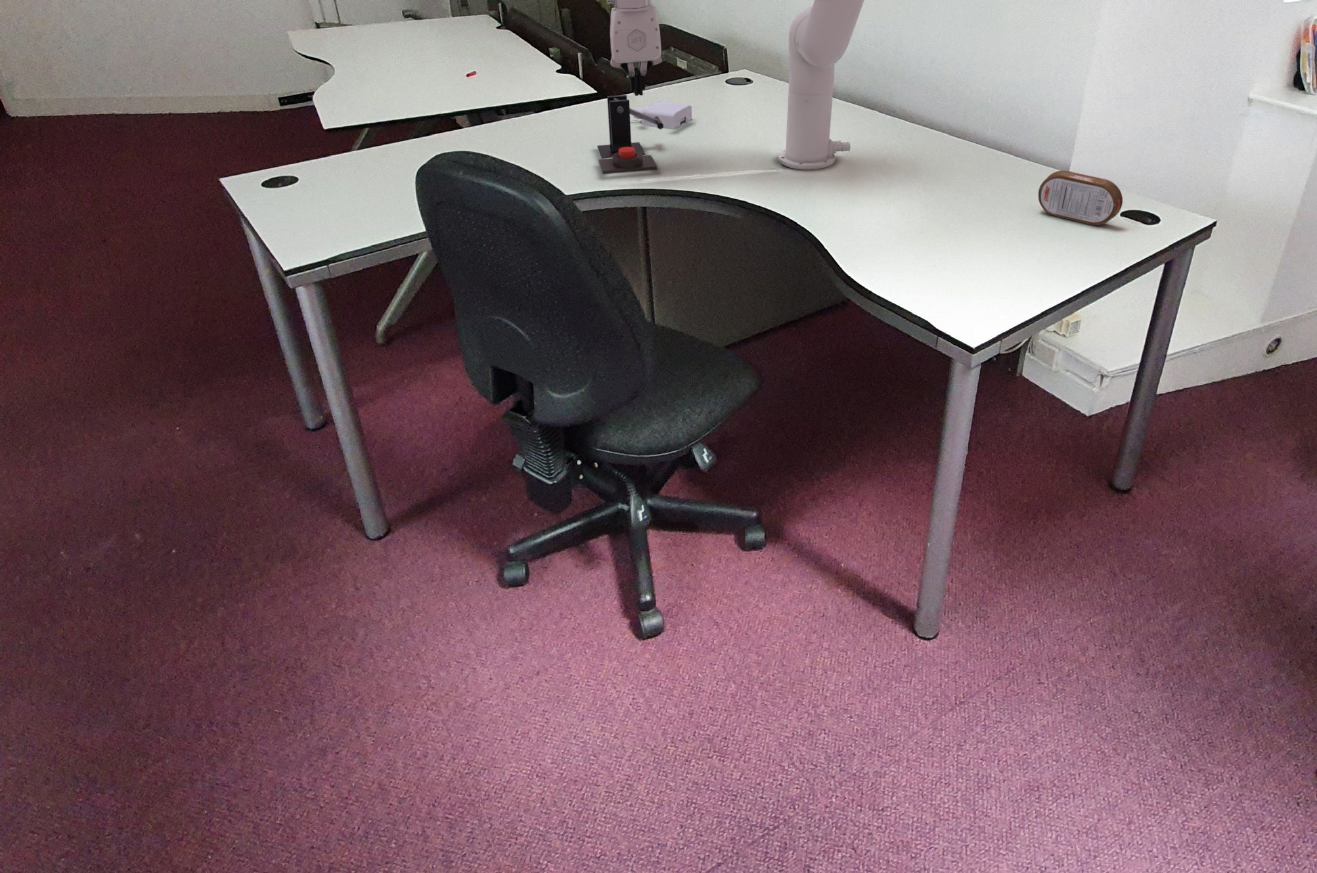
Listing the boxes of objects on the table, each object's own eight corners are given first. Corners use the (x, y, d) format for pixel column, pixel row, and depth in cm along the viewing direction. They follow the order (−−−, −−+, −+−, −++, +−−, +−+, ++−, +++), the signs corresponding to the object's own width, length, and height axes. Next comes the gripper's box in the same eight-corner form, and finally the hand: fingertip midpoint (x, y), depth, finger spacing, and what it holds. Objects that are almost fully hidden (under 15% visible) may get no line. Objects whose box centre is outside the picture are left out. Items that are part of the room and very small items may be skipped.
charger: (641, 116, 243) (692, 123, 236) (622, 126, 236) (674, 133, 230) (640, 97, 240) (691, 104, 234) (621, 106, 234) (673, 113, 227)
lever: (657, 125, 218) (661, 115, 217) (661, 132, 214) (665, 122, 213) (609, 105, 214) (613, 95, 213) (612, 112, 209) (616, 102, 208)
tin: (1117, 226, 175) (1128, 182, 170) (1110, 231, 173) (1122, 186, 168) (1038, 207, 184) (1047, 165, 179) (1032, 212, 182) (1040, 170, 177)
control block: (651, 162, 213) (650, 146, 211) (657, 173, 206) (656, 158, 204) (598, 166, 211) (597, 151, 209) (603, 178, 205) (602, 162, 203)
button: (634, 154, 208) (633, 146, 207) (636, 159, 205) (636, 151, 204) (618, 155, 208) (617, 147, 207) (620, 160, 205) (619, 152, 204)
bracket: (639, 147, 222) (637, 91, 215) (645, 159, 215) (643, 101, 207) (597, 150, 221) (593, 94, 214) (602, 162, 214) (598, 105, 206)
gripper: (597, 7, 185) (605, 102, 195) (672, 0, 187) (675, 95, 197) (593, 0, 191) (601, 92, 201) (666, -6, 193) (669, 86, 203)
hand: (638, 93), depth 199 cm, fingers closed
